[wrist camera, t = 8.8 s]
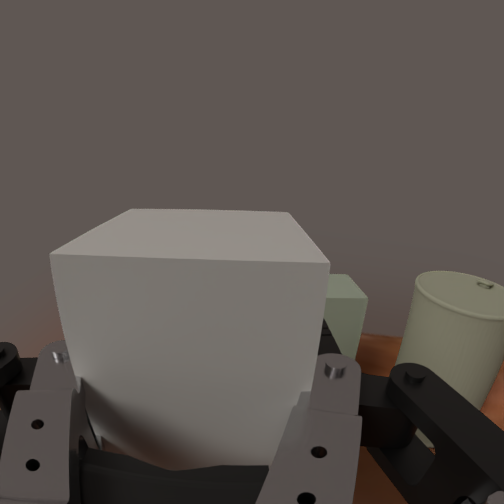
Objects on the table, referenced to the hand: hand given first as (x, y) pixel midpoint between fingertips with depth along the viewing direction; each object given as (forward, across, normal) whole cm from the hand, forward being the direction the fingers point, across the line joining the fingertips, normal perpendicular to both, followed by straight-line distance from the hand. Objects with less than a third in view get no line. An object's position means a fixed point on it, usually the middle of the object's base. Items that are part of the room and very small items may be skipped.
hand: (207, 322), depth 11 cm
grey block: (-3, 0, +6) cm, 7 cm away
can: (+7, -18, +14) cm, 23 cm away
